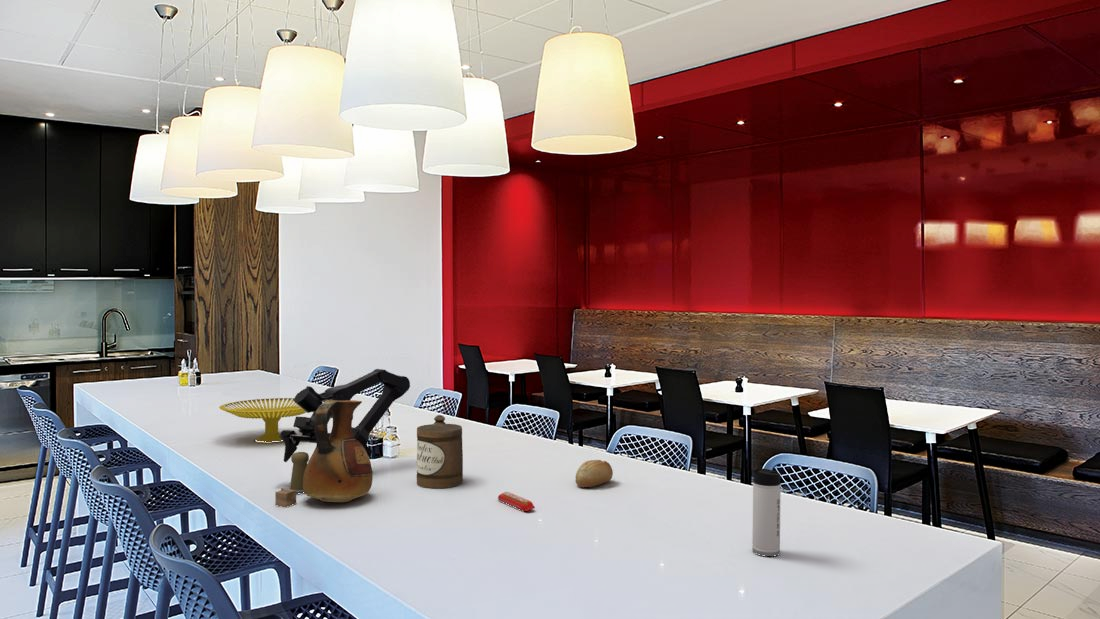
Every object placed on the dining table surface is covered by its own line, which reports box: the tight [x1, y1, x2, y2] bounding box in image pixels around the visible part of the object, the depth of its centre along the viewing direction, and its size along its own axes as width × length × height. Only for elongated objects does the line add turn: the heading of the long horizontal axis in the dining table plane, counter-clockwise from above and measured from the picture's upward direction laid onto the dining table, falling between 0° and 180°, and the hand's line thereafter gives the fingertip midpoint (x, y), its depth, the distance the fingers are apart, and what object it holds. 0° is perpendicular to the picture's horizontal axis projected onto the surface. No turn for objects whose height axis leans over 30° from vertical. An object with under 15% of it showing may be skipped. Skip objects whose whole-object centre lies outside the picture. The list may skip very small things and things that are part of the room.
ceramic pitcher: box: [303, 399, 374, 503], centre depth 217 cm, size 20×20×30 cm
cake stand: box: [218, 397, 307, 442], centre depth 306 cm, size 40×40×15 cm
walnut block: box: [274, 489, 297, 508], centre depth 211 cm, size 4×4×4 cm
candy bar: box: [497, 491, 535, 512], centre depth 212 cm, size 16×4×3 cm, turn 36°
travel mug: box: [751, 467, 782, 556], centre depth 174 cm, size 6×7×20 cm
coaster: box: [280, 485, 304, 495], centre depth 227 cm, size 8×8×1 cm
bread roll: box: [575, 459, 614, 488], centre depth 236 cm, size 10×15×8 cm, turn 138°
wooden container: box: [416, 414, 464, 489], centre depth 237 cm, size 15×15×22 cm
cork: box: [289, 451, 310, 490], centre depth 227 cm, size 6×6×11 cm
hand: (297, 462), depth 226 cm, fingers open, 9 cm apart
